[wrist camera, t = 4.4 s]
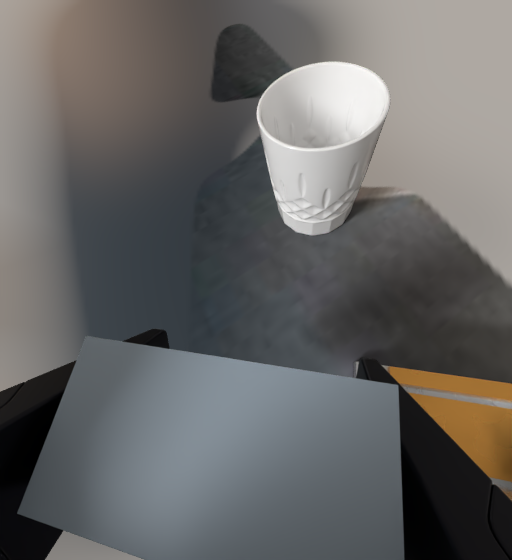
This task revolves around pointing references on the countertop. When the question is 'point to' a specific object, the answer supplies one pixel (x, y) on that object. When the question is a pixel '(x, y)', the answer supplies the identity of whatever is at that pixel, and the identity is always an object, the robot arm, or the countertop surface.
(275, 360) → the countertop surface
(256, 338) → the countertop surface
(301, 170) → the white cup
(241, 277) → the countertop surface
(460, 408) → the rack
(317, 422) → the blue-grey rectangular block
